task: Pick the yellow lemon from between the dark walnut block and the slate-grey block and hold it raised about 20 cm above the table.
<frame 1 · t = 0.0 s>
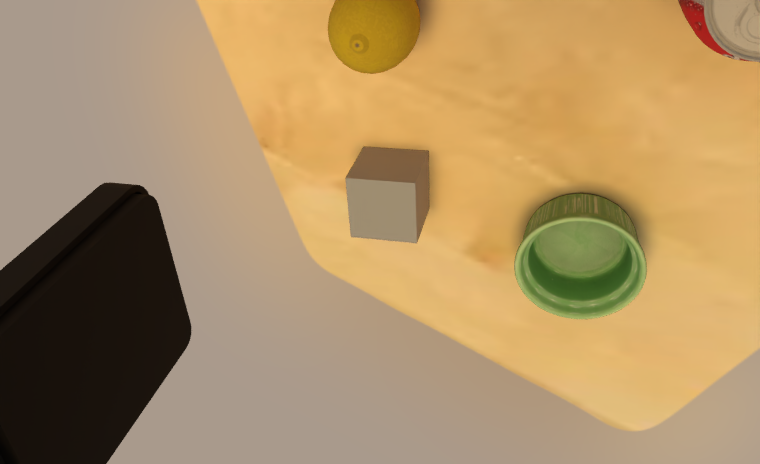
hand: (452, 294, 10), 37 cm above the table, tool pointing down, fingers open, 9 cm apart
grey block: (397, 177, 52), on the table
ramekin: (579, 235, 51), on the table
lemon: (390, 6, 45), on the table
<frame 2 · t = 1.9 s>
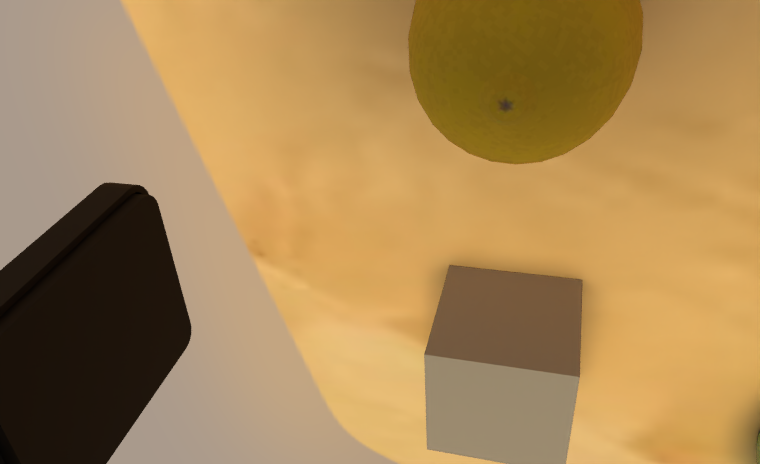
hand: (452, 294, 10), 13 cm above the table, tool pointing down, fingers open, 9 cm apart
grey block: (511, 319, 27), on the table
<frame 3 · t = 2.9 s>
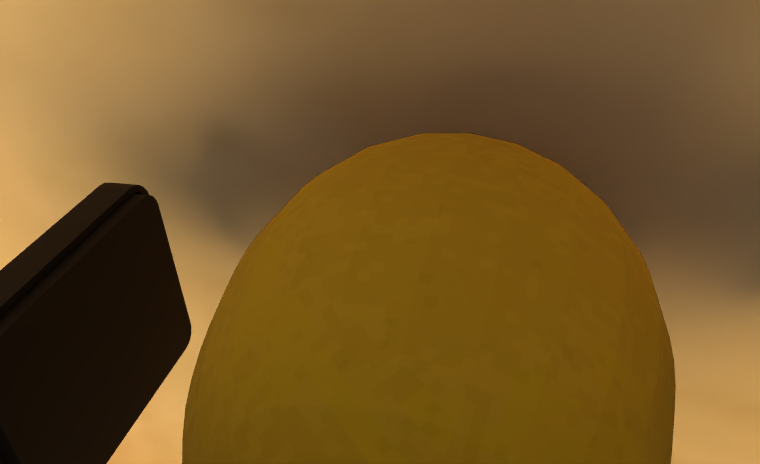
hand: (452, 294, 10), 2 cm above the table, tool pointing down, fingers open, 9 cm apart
lemon: (477, 199, 12), on the table
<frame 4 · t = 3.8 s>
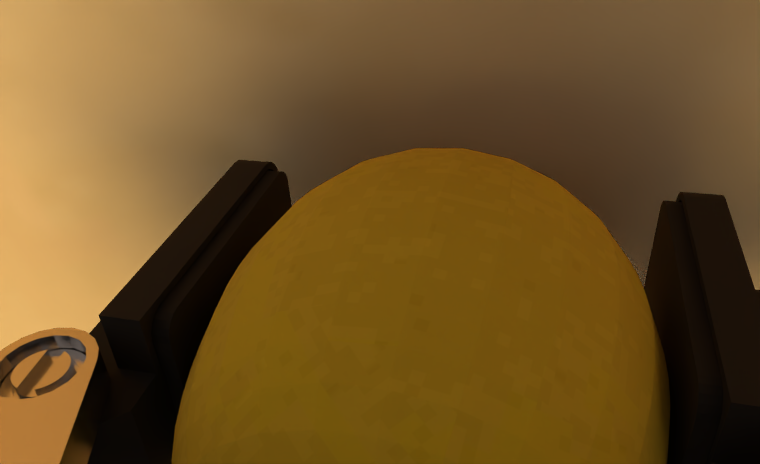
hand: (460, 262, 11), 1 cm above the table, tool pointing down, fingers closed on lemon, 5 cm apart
lemon: (472, 211, 12), on the table, touching gripper
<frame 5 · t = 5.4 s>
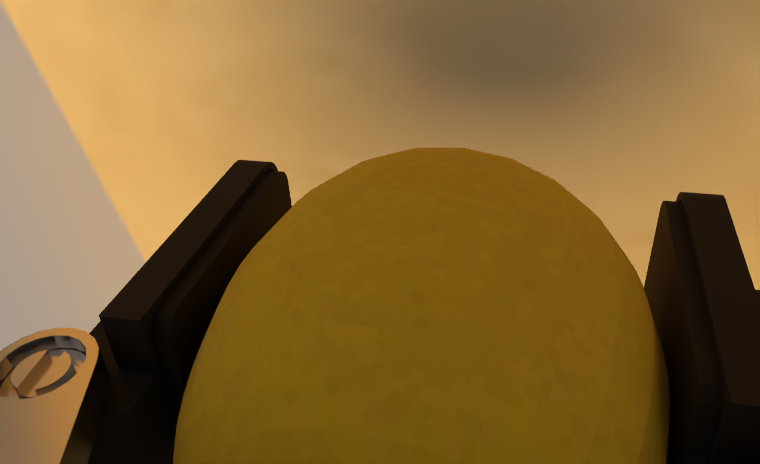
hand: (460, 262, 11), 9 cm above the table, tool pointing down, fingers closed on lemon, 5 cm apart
lemon: (473, 211, 12), point 7 cm above the table, touching gripper
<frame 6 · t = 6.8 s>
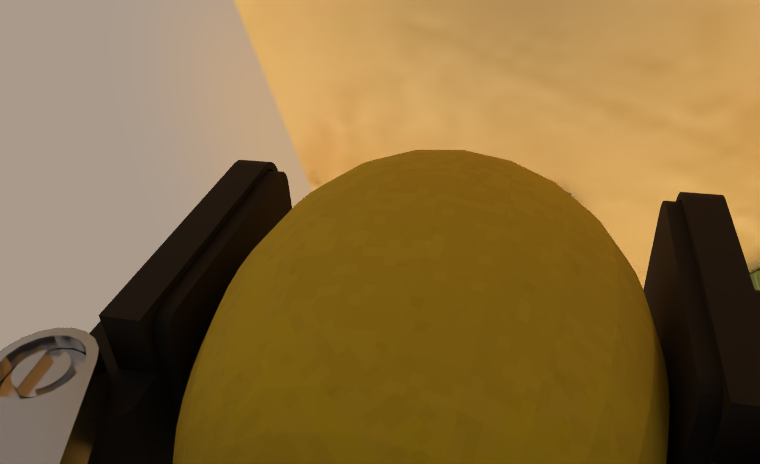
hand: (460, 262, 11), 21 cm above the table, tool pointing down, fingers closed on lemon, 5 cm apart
lemon: (472, 212, 12), point 20 cm above the table, touching gripper
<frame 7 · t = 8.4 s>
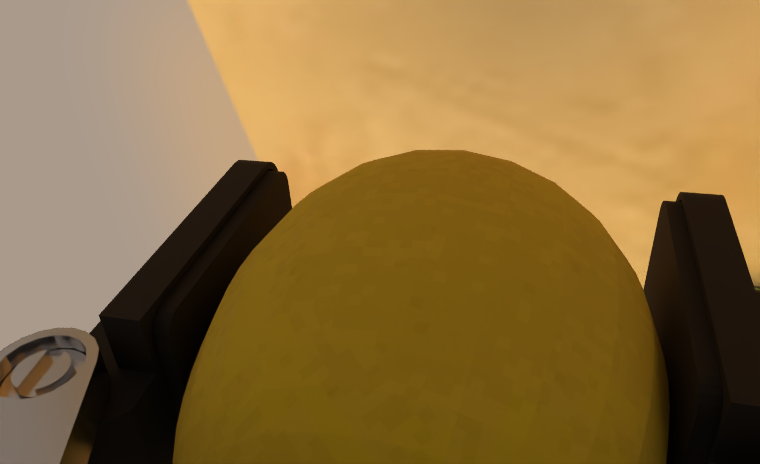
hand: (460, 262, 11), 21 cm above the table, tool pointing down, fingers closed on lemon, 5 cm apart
lemon: (472, 213, 12), point 20 cm above the table, touching gripper
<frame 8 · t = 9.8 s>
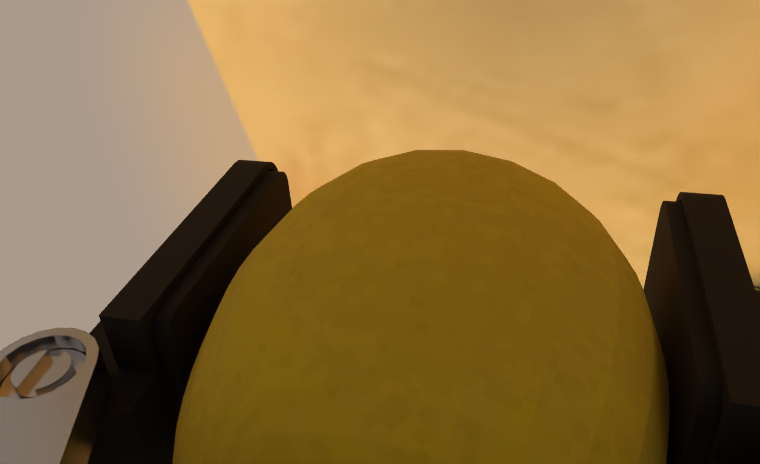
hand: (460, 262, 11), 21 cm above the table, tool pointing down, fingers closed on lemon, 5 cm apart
lemon: (472, 213, 12), point 20 cm above the table, touching gripper
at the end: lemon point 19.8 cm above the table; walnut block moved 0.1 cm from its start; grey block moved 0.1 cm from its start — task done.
